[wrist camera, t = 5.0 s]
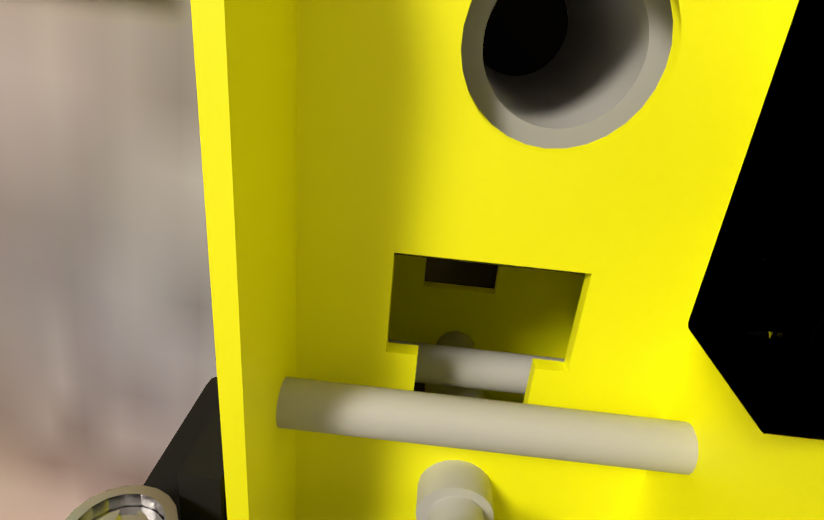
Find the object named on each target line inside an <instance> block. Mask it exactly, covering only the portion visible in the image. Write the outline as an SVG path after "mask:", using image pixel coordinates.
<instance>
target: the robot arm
mask: <svg viewBox="0 0 824 520" xmlns="http://www.w3.org/2000/svg"><path fill="white" fill-rule="evenodd" d="M66 520H227V507H226V493H225V479H224V465H223V450H222V436H221V422H220V408H219V394H218V380H217V377H214V378H212V379H211V380H210V381H209V382H208V384H207V385H206V387H205V388H204V390H203V391H202V393H201V395H200V396H199V398H198V399H197V401H196V402H195V404H194V406H193V407H192V409H191V410H190V412H189V414H188V415H187V417H186V418H185V420H184V422H183V423H182V425H181V426H180V428H179V429H178V431H177V433H176V434H175V436H174V437H173V439H172V441H171V442H170V444H169V445H168V447H167V449H166V450H165V452H164V453H163V455H162V456H161V458H160V460H159V461H158V463H157V464H156V466H155V468H154V469H153V471H152V472H151V474H150V475H149V477H148V479H147V480H146V482H145V483H144V485H126V486H122V487H118V488H113V489H109V490H106V491H104V492H102V493H100V494H98V495H96V496H93V497H91V498H90V499H88V500H87V501H85V502H84V503H83V504H81V505H80V506H78V507H77V508H76V509H75V510H74V511H73V512H72V513H71V514H70V515H69V516H68V518H67V519H66Z"/></svg>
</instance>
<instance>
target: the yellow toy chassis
mask: <svg viewBox="0 0 824 520" xmlns="http://www.w3.org/2000/svg"><path fill="white" fill-rule="evenodd" d="M496 1H497V0H191V14H192V28H193V42H194V56H195V70H196V84H197V98H198V112H199V126H200V140H201V154H202V169H203V183H204V197H205V211H206V225H207V239H208V253H209V267H210V281H211V295H212V310H213V324H214V338H215V352H216V366H217V380H218V394H219V408H220V422H221V436H222V450H223V465H224V479H225V493H226V507H227V520H824V0H564V1H565V4H566V7H567V12H568V28H567V34H566V37H565V40H564V42H563V45H562V47H561V48H560V50H559V52H558V53H557V55H556V56H555V57H554V58H553V59H552V60H551V61H550V62H549V63H548V64H547V65H546V66H544V67H543V68H541V69H540V70H538V71H536V72H533V73H531V74H527V75H523V76H509V75H504V74H501V73H498V72H496V71H494V70H493V69H491V68H489V67H488V66H487V65H486V64H485V63H484V62H483V39H484V32H485V28H486V24H487V21H488V18H489V16H490V13H491V11H492V9H493V7H494V5H495V3H496ZM427 258H433V259H443V260H452V261H461V262H471V263H480V264H489V265H498V269H497V275H496V281H495V287H494V289H492V288H483V287H474V286H464V285H455V284H446V283H437V282H428V281H424V278H425V269H426V260H427ZM415 382H417V383H425V391H424V392H419V391H414V383H415Z"/></svg>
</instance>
